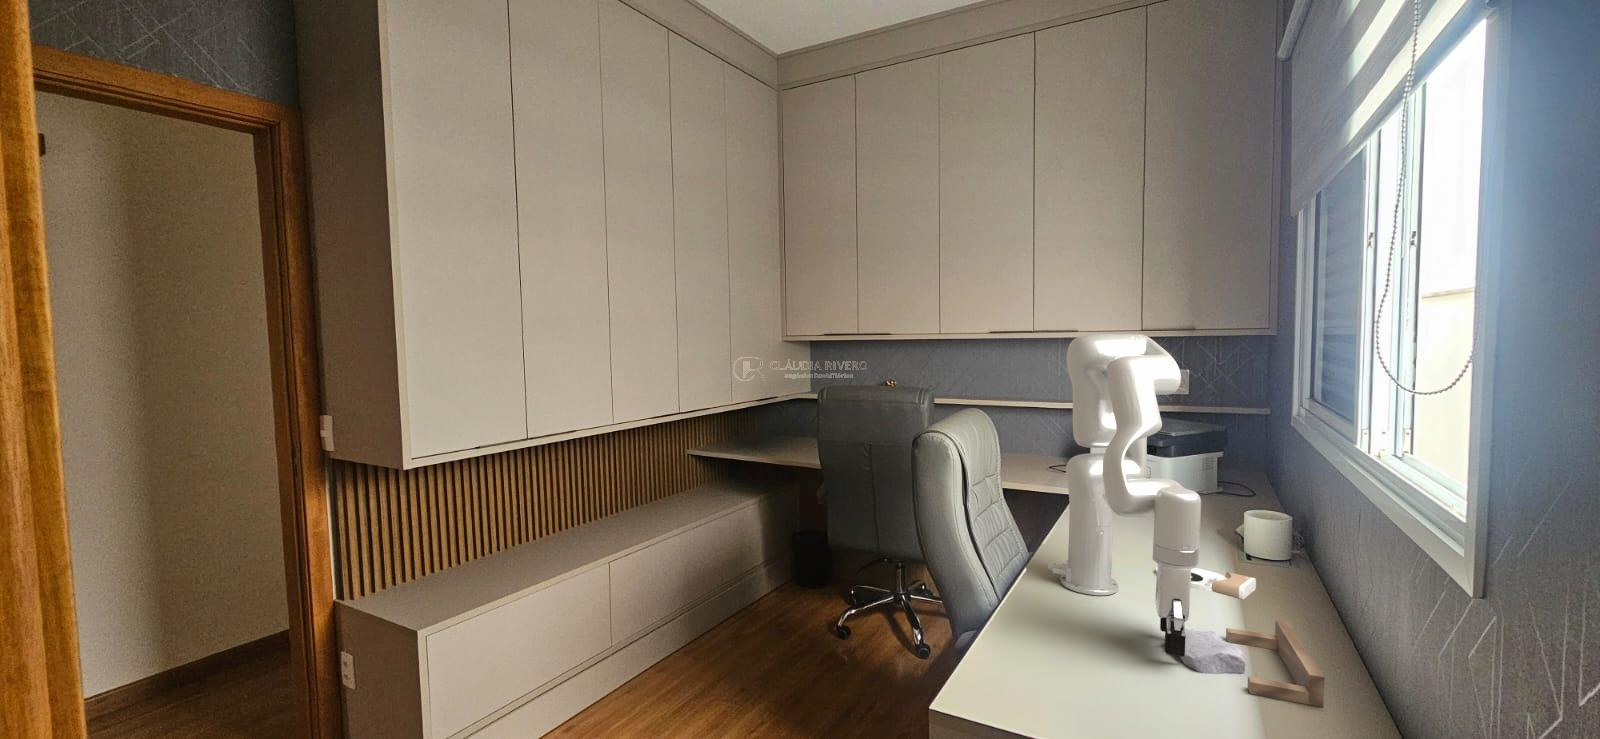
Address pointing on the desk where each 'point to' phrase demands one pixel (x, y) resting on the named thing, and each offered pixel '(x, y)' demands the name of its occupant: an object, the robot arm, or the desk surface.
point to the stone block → (1211, 653)
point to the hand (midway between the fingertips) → (1171, 642)
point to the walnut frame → (1294, 659)
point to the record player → (1222, 583)
